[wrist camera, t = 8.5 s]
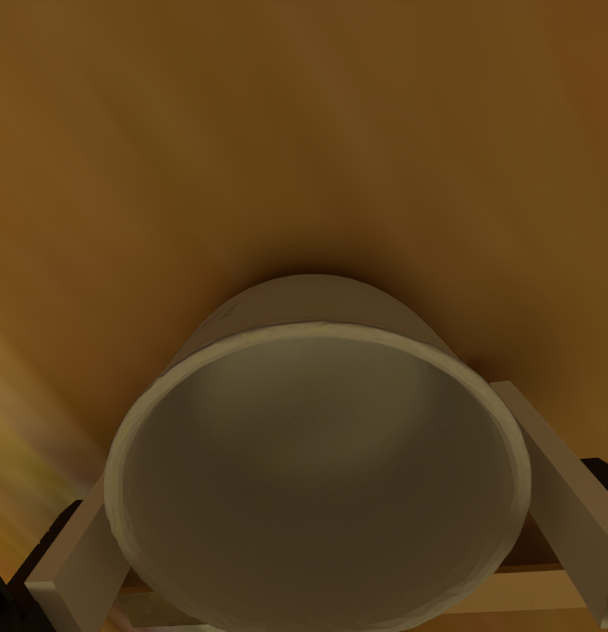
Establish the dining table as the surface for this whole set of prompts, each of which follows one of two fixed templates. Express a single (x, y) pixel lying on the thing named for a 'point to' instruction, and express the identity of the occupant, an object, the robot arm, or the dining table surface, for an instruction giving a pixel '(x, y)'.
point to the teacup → (316, 466)
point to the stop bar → (491, 596)
